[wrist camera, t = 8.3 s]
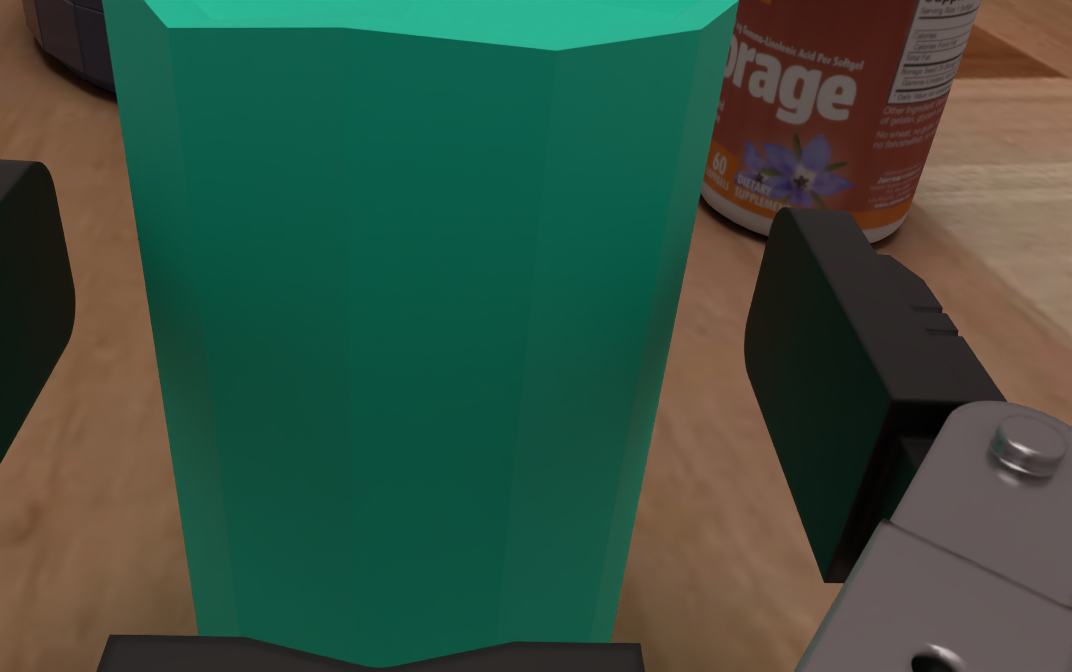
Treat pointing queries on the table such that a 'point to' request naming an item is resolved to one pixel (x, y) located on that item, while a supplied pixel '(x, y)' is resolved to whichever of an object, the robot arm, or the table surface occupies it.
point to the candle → (413, 300)
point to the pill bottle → (832, 107)
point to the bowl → (74, 36)
